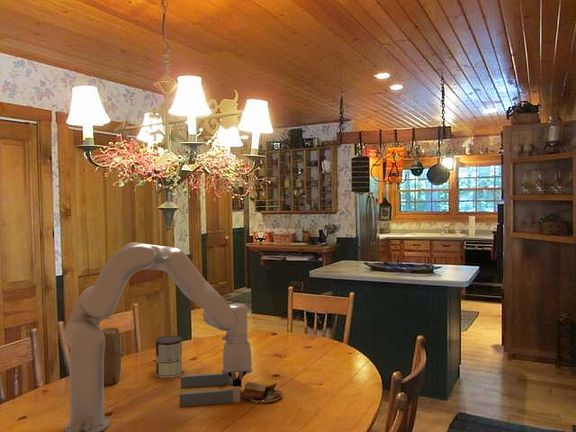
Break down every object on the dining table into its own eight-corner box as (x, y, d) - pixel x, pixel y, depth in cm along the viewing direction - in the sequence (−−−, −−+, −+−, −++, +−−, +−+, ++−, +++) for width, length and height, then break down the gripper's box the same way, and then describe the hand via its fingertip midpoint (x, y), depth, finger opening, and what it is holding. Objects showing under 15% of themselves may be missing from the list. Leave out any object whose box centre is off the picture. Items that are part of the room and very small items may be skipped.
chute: (240, 402, 170) (240, 388, 169) (179, 406, 166) (179, 392, 166) (235, 382, 188) (235, 369, 188) (180, 386, 185) (180, 373, 185)
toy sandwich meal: (278, 406, 166) (278, 392, 166) (239, 403, 169) (238, 389, 169) (284, 392, 179) (284, 379, 179) (248, 390, 181) (248, 377, 181)
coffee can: (150, 374, 198) (150, 339, 198) (171, 368, 206) (171, 334, 206) (166, 380, 192) (166, 343, 191) (187, 373, 200) (187, 338, 199)
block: (116, 385, 186) (115, 332, 185) (95, 386, 185) (94, 332, 185) (123, 375, 196) (122, 325, 196) (103, 376, 196) (103, 325, 195)
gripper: (216, 342, 174) (216, 394, 174) (258, 340, 176) (259, 391, 177) (215, 337, 181) (215, 387, 181) (256, 334, 184) (256, 384, 184)
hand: (237, 389), depth 179 cm, fingers closed
